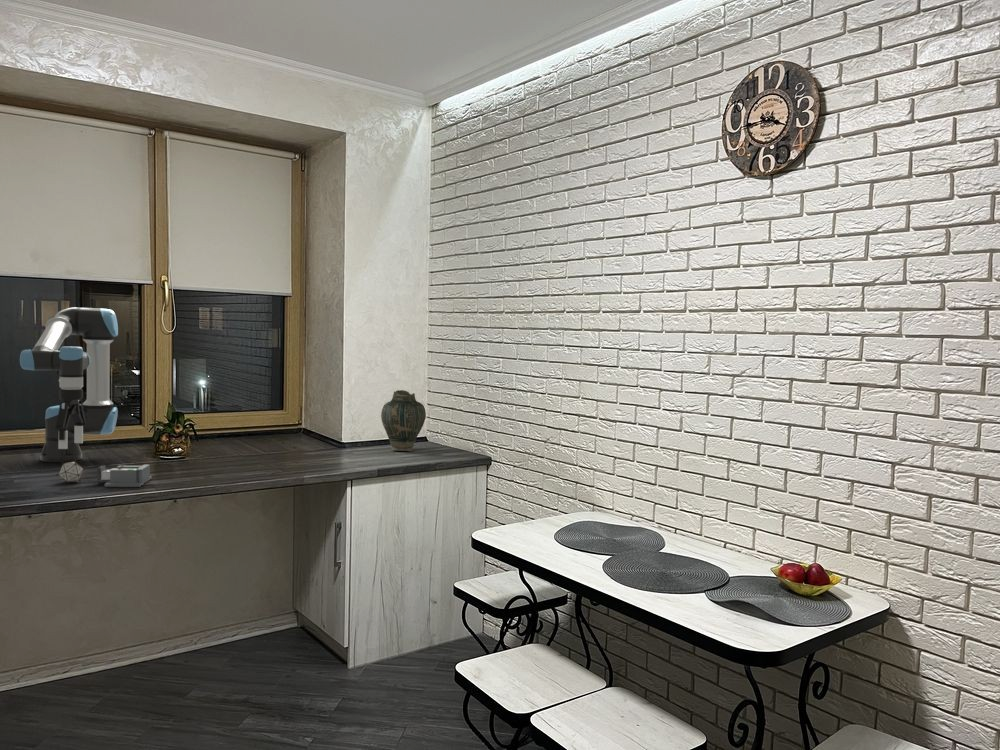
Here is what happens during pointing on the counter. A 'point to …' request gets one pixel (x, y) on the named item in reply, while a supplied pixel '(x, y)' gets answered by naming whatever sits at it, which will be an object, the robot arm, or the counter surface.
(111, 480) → the gauge housing
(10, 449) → the counter surface
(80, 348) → the robot arm
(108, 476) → the block with dark end
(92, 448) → the counter surface
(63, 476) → the game die
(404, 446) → the vase
